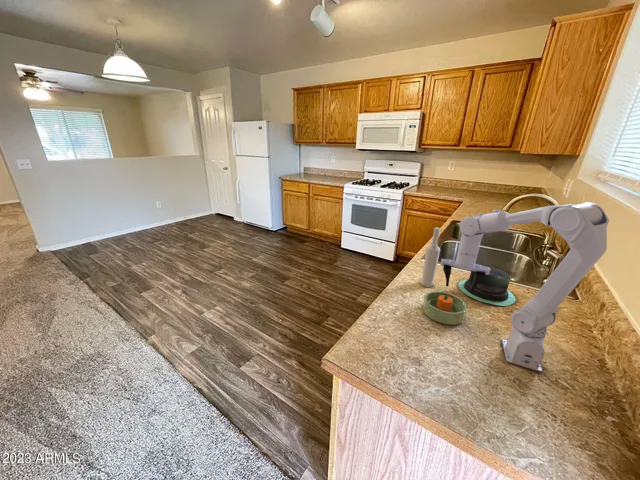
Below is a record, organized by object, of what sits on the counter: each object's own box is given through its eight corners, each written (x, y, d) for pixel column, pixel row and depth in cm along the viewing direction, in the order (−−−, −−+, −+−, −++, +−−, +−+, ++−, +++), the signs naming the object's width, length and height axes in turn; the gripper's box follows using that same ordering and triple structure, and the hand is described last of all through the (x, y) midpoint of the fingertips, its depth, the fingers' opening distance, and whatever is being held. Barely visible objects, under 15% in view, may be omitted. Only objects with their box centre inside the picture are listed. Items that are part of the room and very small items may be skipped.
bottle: (420, 286, 110) (430, 229, 101) (420, 280, 115) (429, 225, 106) (433, 288, 109) (445, 231, 100) (432, 282, 113) (443, 227, 104)
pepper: (449, 317, 90) (453, 301, 88) (435, 313, 92) (438, 297, 89) (449, 310, 94) (453, 294, 91) (436, 306, 96) (439, 290, 93)
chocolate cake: (507, 281, 113) (528, 309, 95) (461, 293, 120) (472, 321, 103) (496, 251, 110) (516, 275, 92) (450, 265, 117) (459, 290, 99)
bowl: (463, 330, 85) (467, 318, 83) (420, 318, 90) (422, 306, 88) (463, 308, 96) (466, 297, 94) (424, 299, 101) (426, 288, 99)
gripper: (491, 251, 87) (482, 287, 92) (444, 243, 93) (437, 277, 98) (494, 259, 81) (484, 297, 86) (443, 251, 87) (436, 286, 92)
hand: (459, 287), depth 92 cm, fingers open, 7 cm apart
